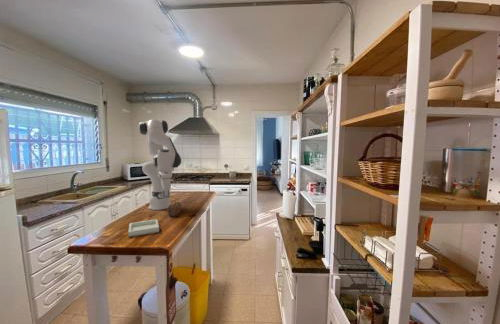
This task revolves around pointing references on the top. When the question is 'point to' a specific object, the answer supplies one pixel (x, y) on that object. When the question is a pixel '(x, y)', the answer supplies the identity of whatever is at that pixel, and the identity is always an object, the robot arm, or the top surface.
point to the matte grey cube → (164, 194)
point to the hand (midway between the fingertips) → (165, 194)
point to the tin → (174, 209)
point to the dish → (143, 228)
